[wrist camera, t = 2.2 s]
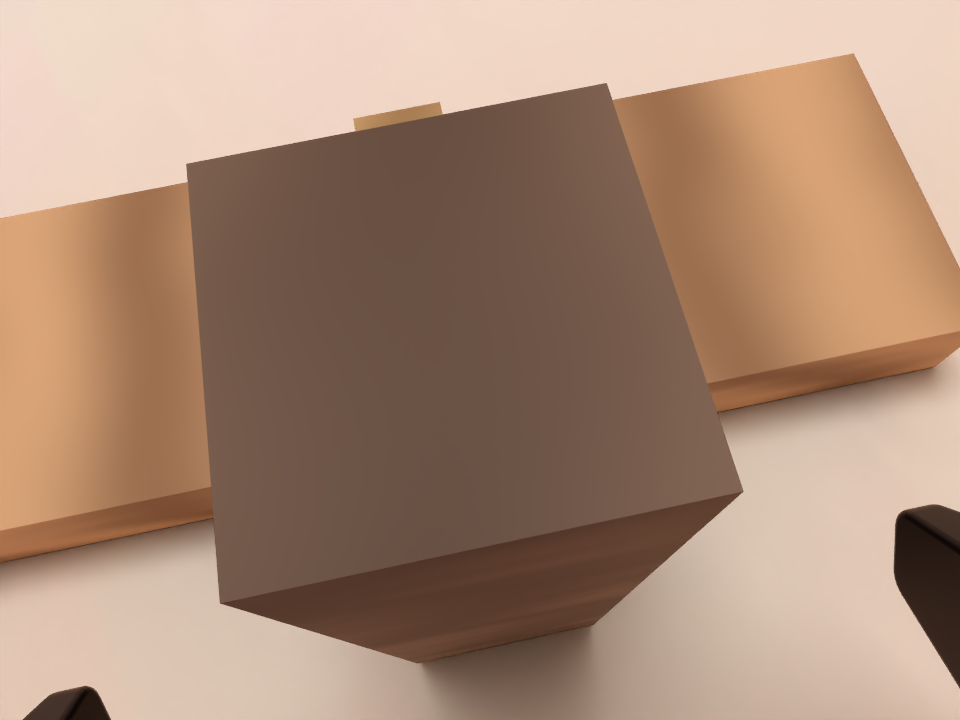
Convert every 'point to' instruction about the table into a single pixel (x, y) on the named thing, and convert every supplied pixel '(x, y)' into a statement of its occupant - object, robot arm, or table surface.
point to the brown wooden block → (447, 377)
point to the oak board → (680, 228)
